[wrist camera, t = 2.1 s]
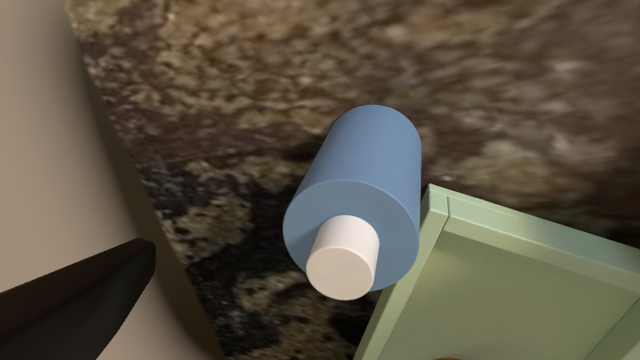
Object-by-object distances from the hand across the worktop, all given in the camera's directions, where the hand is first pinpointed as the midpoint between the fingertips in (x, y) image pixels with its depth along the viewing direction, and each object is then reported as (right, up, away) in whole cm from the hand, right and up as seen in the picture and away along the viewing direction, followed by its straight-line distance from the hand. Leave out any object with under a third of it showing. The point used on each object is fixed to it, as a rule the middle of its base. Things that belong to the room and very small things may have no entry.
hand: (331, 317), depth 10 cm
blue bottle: (+2, +4, +8) cm, 9 cm away
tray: (+7, -7, +13) cm, 16 cm away
